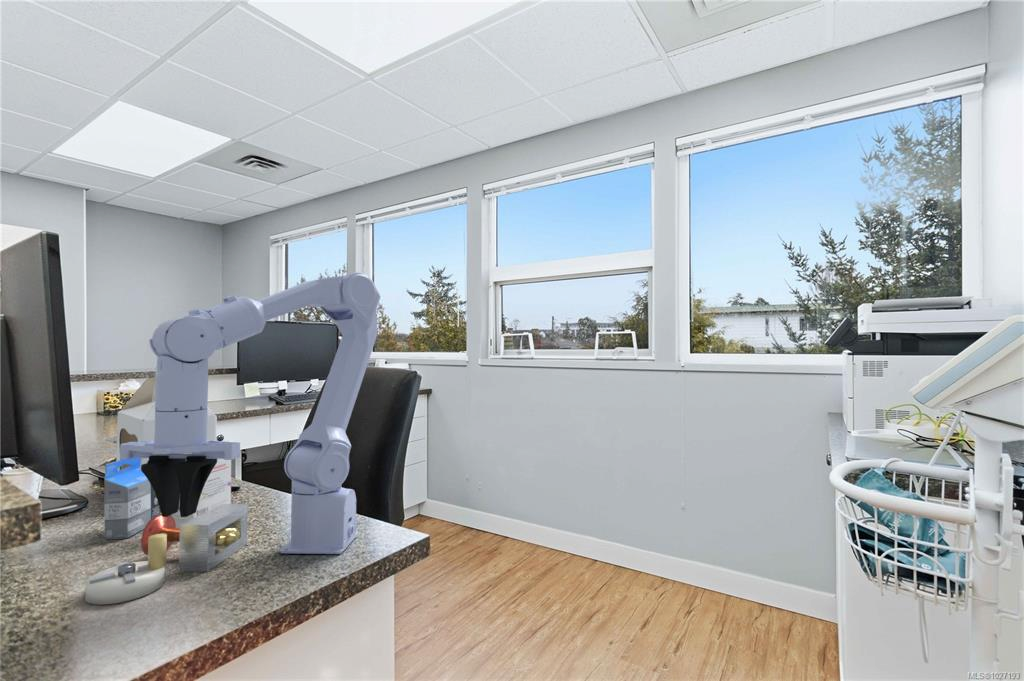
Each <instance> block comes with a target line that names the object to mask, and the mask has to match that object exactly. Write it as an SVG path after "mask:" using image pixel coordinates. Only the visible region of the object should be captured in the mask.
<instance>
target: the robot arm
mask: <svg viewBox="0 0 1024 681" xmlns="http://www.w3.org/2000/svg"><path fill="white" fill-rule="evenodd" d="M380 299H381V294H380V292H379V290H378V289H377V286H376V285H375V282H374V281H373V279H372V278H371V277H370V276H369V275H367V274H366V273H364V272H359V271H358V272H357V271H355V272H352V273H349V274H346V275H338V276H332V277H330V276H329V277H325V278H319V279H314V280H313V279H312V280H309V281H305V282H301V283H299V284H297V285H294V286H291V287H289V288H287V289H284V290H281V291H279V292H276V293H274V294H271V295H269V296H266V297H264V298H261V299H258V300H254V299H253V298H250V297H248V296H243V295H242V296H239V297H237V294H234V295H233V294H232V295H229V296H226V297H223V299H222V300H223V302H222V303H219V304H217V305H213V306H210V307H207V308H205V309H202V310H200V309H199V308H197V307H196V308H193V309H191V310H190V309H189V310H188V311H187V312H188V315H185V316H183V317H182V318H181V317H180V318H175V319H174V318H172V319H168V320H166V321H163V322H162V323H161V324H159V325H158V327H157V328H155V330H154V332H153V333H152V338H150V339H149V341H148V342H149V347H150V349H151V351H152V353H154V355H155V356H157V358H156V359H157V361H156V366H157V374H156V373H155V376H156V394H155V410H156V411H155V433H154V441H147V442H129V443H124V444H121V445H120V459H131V458H149V461H148V462H147V463H146V464H143V465H141V471H142V472H143V473H144V475H145V476H146V477H147V479H148V480H149V482H150V484H151V486H152V488H153V490H154V492H155V494H156V497H157V500H158V503H159V507H160V510H161V514H162V517H168V516H170V515H172V514H174V513H176V512H178V508H179V499H180V515H181V517H187V516H190V515H192V514H194V513H196V510H197V506H198V502H199V499H200V496H201V493H202V490H203V488H204V485H205V483H206V481H207V479H208V477H209V475H210V473H211V471H212V470H213V468H214V466H215V465H216V463H217V459H224V460H231V461H233V460H235V459H238V458H240V456H241V442H236V441H235V442H233V441H232V442H231V441H229V442H225V441H220V440H216V441H211V440H207V409H208V408H207V406H209V405H208V404H209V403H208V401H209V400H208V399H209V398H208V397H209V395H208V394H209V358H211V356H212V355H213V354H214V352H215V351H219V350H221V349H222V350H223V349H224V348H227V347H228V346H229V347H230V346H231V345H234V344H236V343H239V342H242V341H244V340H245V339H246V340H247V339H248V338H251V337H253V336H256V335H259V334H261V333H262V332H263V330H264V328H265V326H266V323H267V321H270V320H272V319H275V318H278V317H280V316H284V315H287V314H290V313H293V312H295V311H298V310H301V309H303V308H306V307H312V308H319V309H320V310H321V311H322V312H323V313H324V315H326V316H327V317H328V318H329V319H330V320H331V321H332V322H333V323H334V324H335V325H336V326H337V328H338V330H339V331H340V333H341V335H342V336H341V339H340V341H339V345H338V348H337V351H336V353H335V355H334V359H333V362H332V364H331V367H330V370H329V373H328V375H327V378H326V382H325V385H324V387H323V390H322V393H321V397H320V399H319V401H318V404H317V407H316V410H315V412H314V416H313V419H312V421H311V424H310V425H309V426H308V427H307V428H305V429H304V430H303V431H302V432H301V433H300V434H299V435H298V438H297V441H296V443H295V445H294V446H293V447H292V448H290V450H289V451H288V453H287V454H286V456H285V458H284V463H283V469H284V472H285V474H286V476H287V477H288V478H289V479H290V480H291V504H290V509H291V510H290V541H289V542H287V543H286V544H285V545H284V546H282V548H280V549H279V552H278V553H279V554H303V555H304V554H305V555H307V554H309V555H310V554H314V555H316V554H319V555H321V554H322V555H323V554H325V555H329V554H330V555H340V554H343V552H344V551H346V549H347V547H348V546H349V545H351V543H352V542H353V541H354V540H355V538H357V537H358V533H357V528H356V527H357V496H356V492H355V490H354V489H352V488H345V487H342V484H343V483H344V482H345V481H346V479H347V477H348V475H349V472H350V453H351V449H352V444H351V441H350V439H349V436H348V435H347V432H346V431H347V428H348V425H349V422H350V419H351V416H352V412H353V410H354V407H355V403H356V400H357V398H358V394H359V392H360V388H361V386H362V382H363V379H364V376H365V372H366V370H367V368H368V364H369V360H370V359H371V355H372V351H373V348H374V346H375V342H376V340H377V337H378V315H377V312H378V311H377V308H378V305H379V302H380ZM178 453H192V454H178ZM201 453H202V454H201Z"/></svg>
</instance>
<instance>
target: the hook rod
mask: <svg viewBox="0 0 1024 681" xmlns="http://www.w3.org/2000/svg"><path fill="white" fill-rule="evenodd" d="M142 531H143V532H142V533H141V534H142V535H141V540H140V541H141V542H140V545H141V550H142V552H143V553H144V554H145V555H146V556H148V538H149V537H150V536H152V535H155V534H162V533H164V534H167V551H168V550H169V549H170V547H171V546H172V545H173V543H180V528H176V523H175V519H174V518H173V517H172V516H171V515H170V516H168V517H162V514H159V515H156V516H154V517H153V518H152V519H151V520H150V521H149V522H148V523H147V525H146V527H145V529H143V530H142ZM239 537H240V533H239V529H238V528H222V529H221V530H219V531H217V532H216V545H215V546H228V545H230V544H232V543H235V542H236V541H237V540H238V539H239Z"/></svg>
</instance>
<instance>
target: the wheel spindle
mask: <svg viewBox="0 0 1024 681" xmlns="http://www.w3.org/2000/svg"><path fill="white" fill-rule="evenodd" d="M135 571H136V564H135V563H133V562H128V564H124V565H121V566H119V567H118V576H124V575H125V574H129V573H135Z"/></svg>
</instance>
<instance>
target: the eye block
mask: <svg viewBox="0 0 1024 681" xmlns="http://www.w3.org/2000/svg"><path fill="white" fill-rule="evenodd" d="M248 508H249V507H248V503H231V504H221V505H219V506H217V507H215V508H213V509H211V510H209V511H207V512H205V513H203V514H201V515H199V516H197V517H195V518H193V519H191V520H189V521H187V522H185V523H183V524H181V525H180V542H179V550H178V551H179V552H178V553H179V554H178V555H179V556H178V572H200V573H201V572H203V573H204V572H209V571H210V570H212V569H214V568H215V567H216V566H218V565H219V564H220V563H222V562H224V561H225V560H226V559H228V558H229V557H230V556H232V555H233V554H235V553H236V552H238V551H239V550H241V549H242V548H243V547H245V546H246V545H247V544H248V540H247V539H248ZM222 528H238V529H239V533H240V537H239V539H238V540H237V541H236V542H235V543H232V544H230V545H228V546H215V545H216V532H217V531H219V530H221V529H222Z"/></svg>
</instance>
